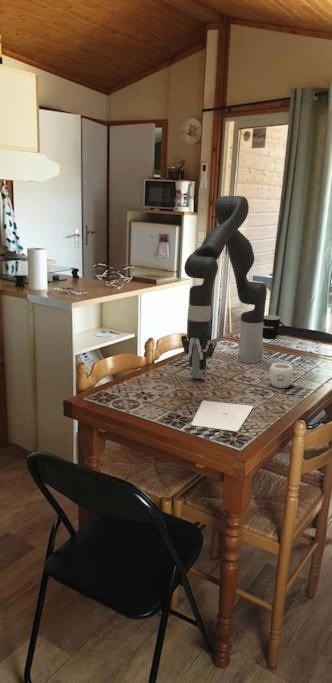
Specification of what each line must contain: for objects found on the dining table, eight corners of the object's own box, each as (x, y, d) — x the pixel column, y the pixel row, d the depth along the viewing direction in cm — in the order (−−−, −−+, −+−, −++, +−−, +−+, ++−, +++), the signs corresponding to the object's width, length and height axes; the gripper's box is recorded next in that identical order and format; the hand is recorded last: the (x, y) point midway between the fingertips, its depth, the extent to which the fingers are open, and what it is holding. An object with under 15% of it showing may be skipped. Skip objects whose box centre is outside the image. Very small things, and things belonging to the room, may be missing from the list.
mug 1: (257, 338, 262) (258, 317, 259) (263, 334, 270) (264, 314, 267) (281, 341, 257) (282, 321, 254) (286, 337, 264) (288, 317, 262)
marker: (196, 374, 184) (197, 335, 180) (204, 376, 181) (206, 337, 178) (189, 376, 181) (190, 337, 177) (197, 379, 179) (199, 339, 175)
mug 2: (266, 388, 195) (268, 367, 193) (270, 380, 203) (272, 360, 201) (300, 392, 192) (302, 371, 189) (303, 385, 199) (304, 364, 197)
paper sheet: (234, 437, 156) (234, 434, 156) (146, 420, 169) (146, 417, 169) (258, 409, 177) (258, 406, 176) (178, 396, 189) (178, 393, 189)
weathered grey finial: (203, 383, 199) (204, 352, 195) (187, 382, 200) (188, 351, 196) (205, 378, 204) (206, 348, 201) (190, 377, 205) (191, 346, 202)
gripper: (223, 319, 174) (221, 370, 179) (190, 312, 183) (188, 361, 188) (209, 323, 169) (207, 375, 173) (175, 316, 178) (174, 365, 182)
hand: (197, 367), depth 180 cm, fingers closed on marker, 3 cm apart
